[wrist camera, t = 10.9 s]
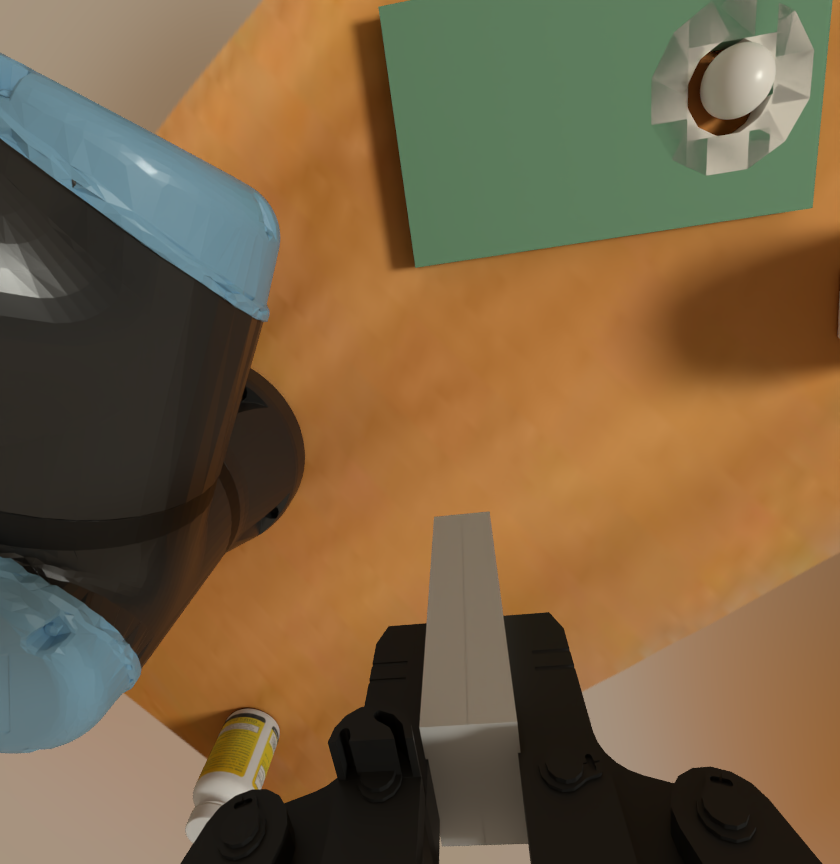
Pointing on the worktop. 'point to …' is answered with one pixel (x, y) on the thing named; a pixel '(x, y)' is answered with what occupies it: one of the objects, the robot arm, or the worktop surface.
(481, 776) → the robot arm
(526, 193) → the mat
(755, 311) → the worktop surface
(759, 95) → the ball
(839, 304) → the jar
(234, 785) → the supplement bottle
